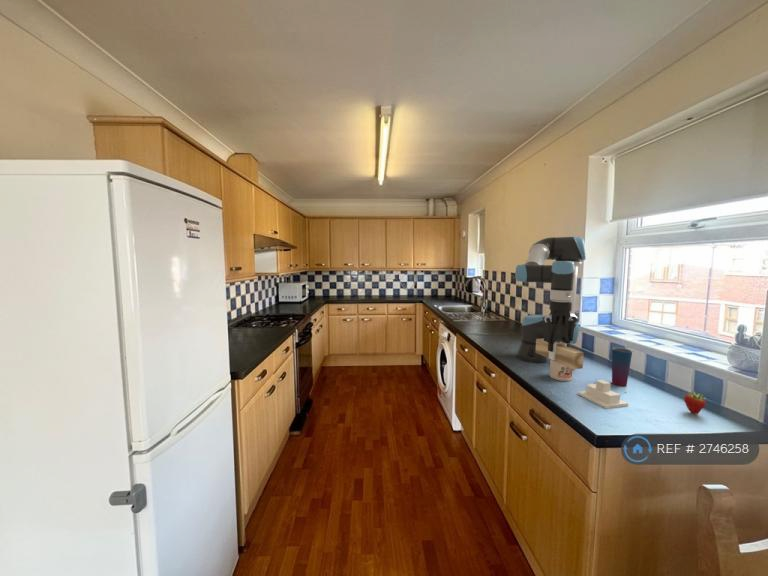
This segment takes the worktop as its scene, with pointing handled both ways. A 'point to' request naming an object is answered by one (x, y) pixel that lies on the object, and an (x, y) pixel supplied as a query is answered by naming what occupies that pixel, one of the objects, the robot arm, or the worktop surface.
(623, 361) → the cup
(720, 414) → the worktop surface
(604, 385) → the fulcrum
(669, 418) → the worktop surface
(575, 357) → the beam
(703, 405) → the fruit
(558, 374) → the teacup with lid
